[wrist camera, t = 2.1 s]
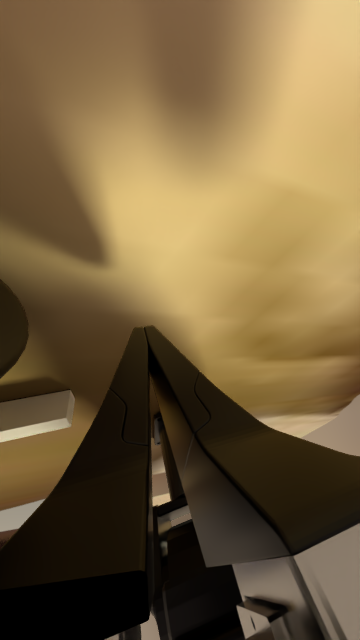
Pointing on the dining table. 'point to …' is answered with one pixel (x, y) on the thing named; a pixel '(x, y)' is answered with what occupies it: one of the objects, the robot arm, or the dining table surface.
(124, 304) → the dining table surface
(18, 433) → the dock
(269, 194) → the dining table surface
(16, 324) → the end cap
